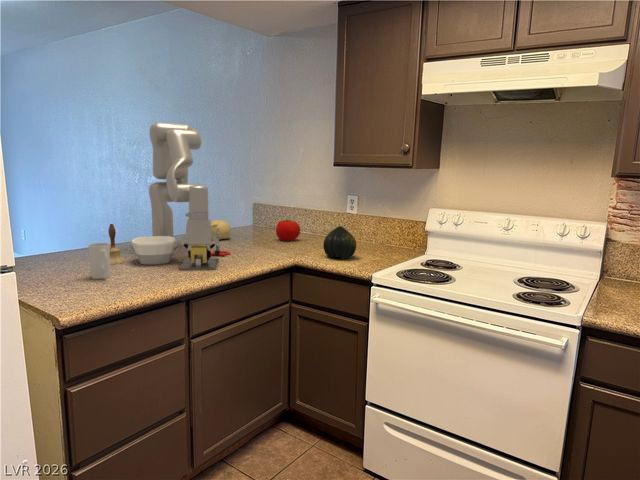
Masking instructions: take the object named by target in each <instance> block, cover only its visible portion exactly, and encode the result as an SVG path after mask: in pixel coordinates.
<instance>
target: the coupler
mask: <svg viewBox="0 0 640 480" xmlns="http://www.w3.org/2000/svg"><path fill="white" fill-rule="evenodd" d="M219 261H220V259H219V258H218V257H215V258H214V257H211V258H209V260H207V263H203V255H197V257H196V261H195V263H191V260H190V258H184V260H183V262H182V263H181V265H180V266H179V268H178V271H216V270H217V268H218V264H219Z"/></svg>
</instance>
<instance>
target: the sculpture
mask: <svg viewBox="0 0 640 480" xmlns="http://www.w3.org/2000/svg"><path fill="white" fill-rule="evenodd" d="M211 227H212V235H213V236H214V237H215V238H216V232H217V228H219V240H226V239H229V237H230V236H231V230H232V229H231V226H230V225H229V223H228V222H226V221H225V220H222V219H218V220H217V219H214V220H212V221H211Z"/></svg>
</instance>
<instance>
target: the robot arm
mask: <svg viewBox="0 0 640 480" xmlns="http://www.w3.org/2000/svg"><path fill="white" fill-rule="evenodd" d="M149 138H150V139H149V140H150V142H151V146H152V175H153V177H154V178H155V179H158V180H166V181H156V182H153V183H151V184H149V186H148V196H149V199H150V208H151V228H152V230H151V232H152V236H170V237H174V212H173V209H172V207H170V205H169V204H168V203H188V212H186V213H185V217H188V219H187V221H186V227H185V235H184V236H183V237H182V238H181V239H180V241H179V244H181V245H182V246H183V247H184V249H186V250H187V251H188V252H187V253H188V255H187V256H188V258H190V260H191V247H192V246H193V245H206V246H207V260H209V258H212V256H211V252H212V251H211V250H213V248H215V247H216V244H217V243H218V242H219V243H220V240H219V241H218V240H217V239H216V238H215V237H214V236H213V235H212V227H211V222H212V221H211V219H210V218H209V188H208V187H207V186H206V185H202V184H200V183H189V182H188V181H189V168H190V167H191V166H192V165H193V163H194V158H193V155H192V150H193V151H195V150H196V151H197V150H199V149H200V147H201V146H202V137H201V135H200V133H199V131H198V130H197V129H195V128H194V127H193V126H191V125H189V124H185V123H172V122H154V123H152V124H151V125H150V128H149ZM212 241H213V243H212ZM177 248H178V244H177V243H176V245H175V248H174V249H177Z"/></svg>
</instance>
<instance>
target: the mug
mask: <svg viewBox="0 0 640 480" xmlns="http://www.w3.org/2000/svg"><path fill="white" fill-rule="evenodd" d="M110 248H111V246H110V242H109V243H108V242H93V243H88V255H89V267H90V268H89V269H90V276H91V279H94V280H103V279H104V280H105V279H108V278H110V277H111V265H110Z"/></svg>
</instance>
